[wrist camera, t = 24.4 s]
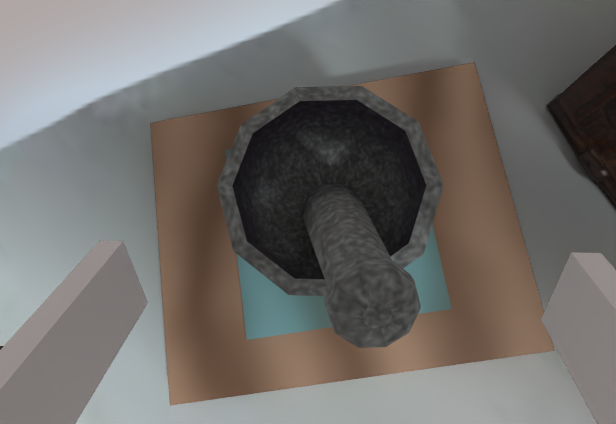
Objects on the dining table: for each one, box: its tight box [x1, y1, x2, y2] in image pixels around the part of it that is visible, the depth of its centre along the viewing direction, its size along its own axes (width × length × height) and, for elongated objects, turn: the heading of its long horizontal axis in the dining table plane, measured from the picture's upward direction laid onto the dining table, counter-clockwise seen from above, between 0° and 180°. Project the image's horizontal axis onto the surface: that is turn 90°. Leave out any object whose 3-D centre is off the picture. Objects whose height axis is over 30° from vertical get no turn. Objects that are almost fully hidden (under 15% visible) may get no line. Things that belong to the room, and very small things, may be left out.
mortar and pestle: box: [217, 86, 444, 348], centre depth 17 cm, size 11×9×12 cm
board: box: [150, 62, 554, 405], centre depth 23 cm, size 22×18×1 cm
